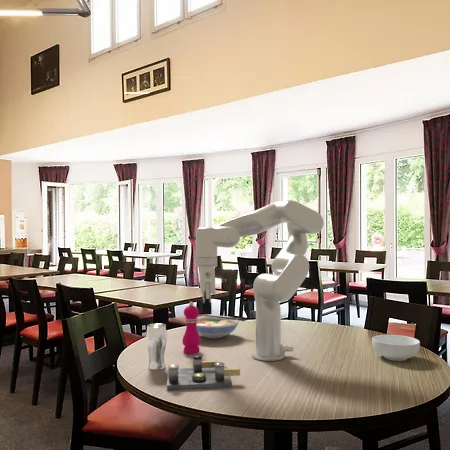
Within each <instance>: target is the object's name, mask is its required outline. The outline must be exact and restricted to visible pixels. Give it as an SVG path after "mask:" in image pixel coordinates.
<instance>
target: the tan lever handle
mask: <svg viewBox="0 0 450 450" xmlns="http://www.w3.org/2000/svg"><path fill="white" fill-rule="evenodd" d="M192 360H193V361H192V368H193V371H201V370H202V368H215V366H214V363H216V362H218V361H217V360H203V355H202V354H193V355H192Z"/></svg>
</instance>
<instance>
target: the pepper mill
mask: <svg viewBox="0 0 450 450" xmlns="http://www.w3.org/2000/svg"><path fill="white" fill-rule="evenodd" d="M199 314H200V311H199V308H198V307H197V306H196V305H194V302H193V301H190V302H189V303H188V306H186V307H184V309H183V315H184V317H185V319H184V321H185V324H186V326H185V327H186V328H185V332H184V334H183V337H182V345H183V346H184V347H183V353H184V354H186V355H198V354H199V353H200V347H199V345H200V344H201V335H199V333H198V331H197V326H196V324H197V321H198V320H197V319H198V318H197V317H199Z"/></svg>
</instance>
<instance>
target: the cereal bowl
mask: <svg viewBox="0 0 450 450" xmlns="http://www.w3.org/2000/svg"><path fill="white" fill-rule="evenodd" d="M371 346H372V348H373V350H374V351H375V352H376V353H377V354H379V355H380V356H382V357H384V358H385V359H387V360H389V361H395V362H402V361H403V362H404V361H406V360H408V359H410V358H414V357H415V356H417V354H418V353H419V351H420V348H421V342H420V340H419V339H417V338H415V337H412V336H407V335H401V334H399V335H398V334H380V335H374V336H373V337H371Z"/></svg>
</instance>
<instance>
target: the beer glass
mask: <svg viewBox="0 0 450 450" xmlns="http://www.w3.org/2000/svg"><path fill="white" fill-rule="evenodd" d="M146 328H147V329H146V344H147V345H146V346H147V350H148V352H147V353H148V366H147V369H148V370H150V371H160V370H161V371H162V370H164V369H165V368H166V363H165V351H166V346H167V324H165V323H158V322H157V323H150V324H148V325H146Z"/></svg>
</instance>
